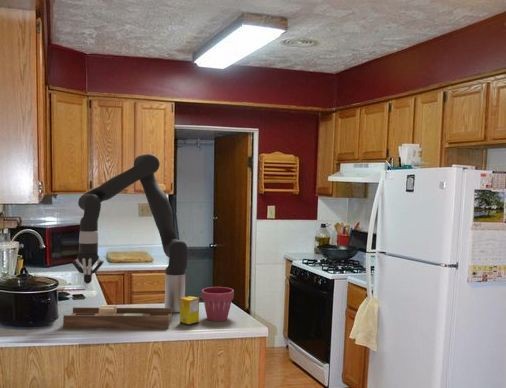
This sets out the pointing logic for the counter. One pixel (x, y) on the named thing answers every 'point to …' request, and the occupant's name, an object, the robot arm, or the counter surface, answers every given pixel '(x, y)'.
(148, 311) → the walnut track
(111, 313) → the maple block
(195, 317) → the supplement box
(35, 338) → the counter surface
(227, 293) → the plant pot
